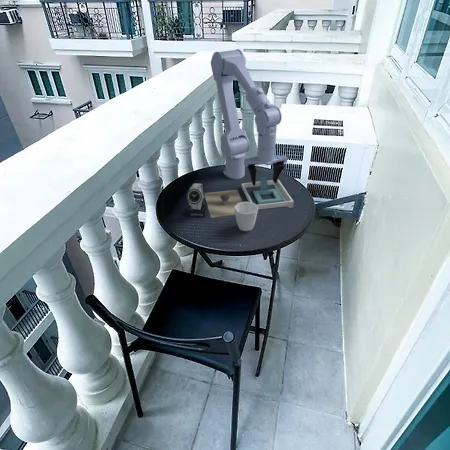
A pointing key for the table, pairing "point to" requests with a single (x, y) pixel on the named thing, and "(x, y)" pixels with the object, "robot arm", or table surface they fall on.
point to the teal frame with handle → (264, 191)
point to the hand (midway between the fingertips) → (264, 182)
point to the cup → (246, 215)
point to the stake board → (218, 203)
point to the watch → (196, 201)
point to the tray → (284, 195)
